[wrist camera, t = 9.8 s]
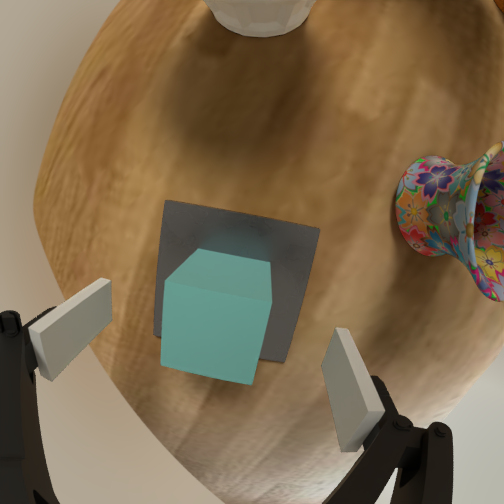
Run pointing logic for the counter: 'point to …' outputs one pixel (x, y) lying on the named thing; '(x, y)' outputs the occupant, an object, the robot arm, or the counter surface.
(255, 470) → the counter surface
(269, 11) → the cup
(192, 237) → the grey square tile
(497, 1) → the mug
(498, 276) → the mug
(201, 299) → the teal block
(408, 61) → the counter surface
